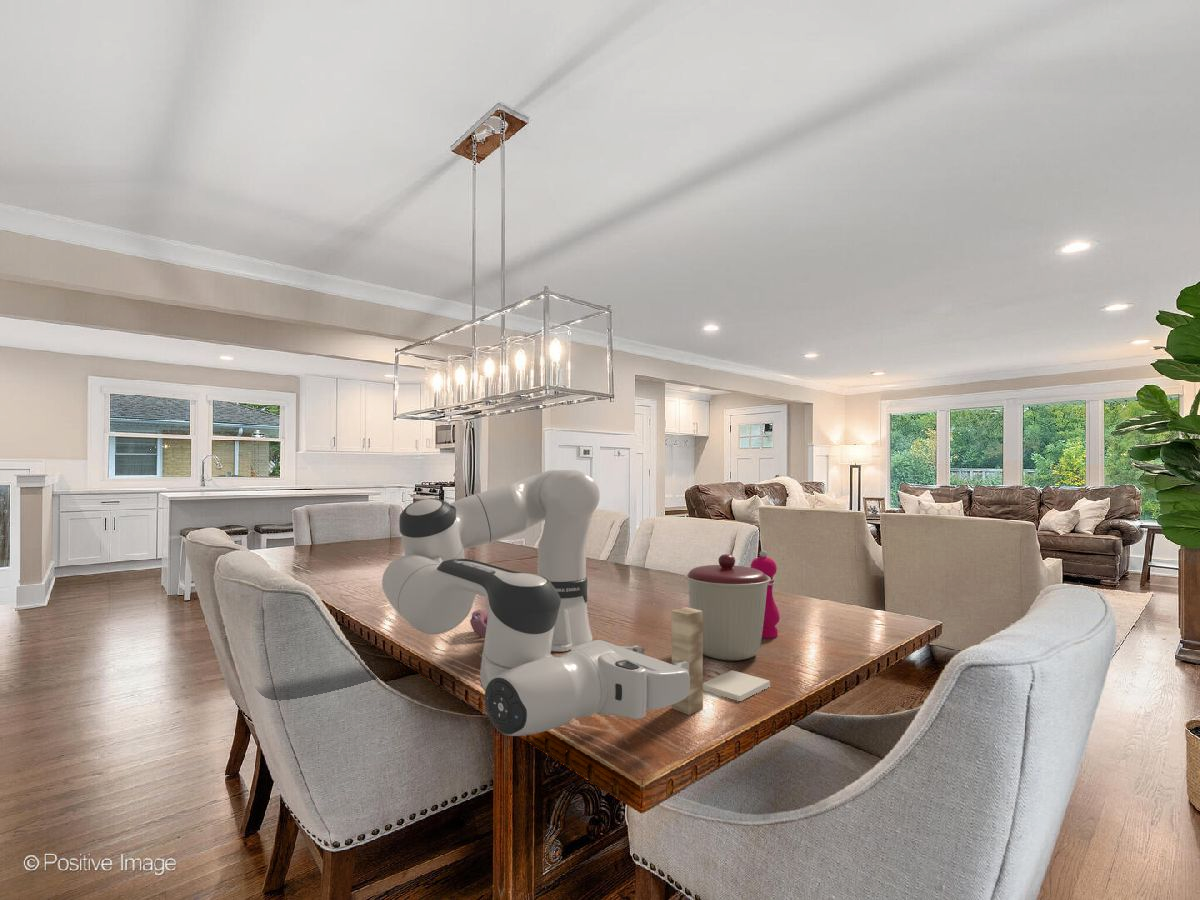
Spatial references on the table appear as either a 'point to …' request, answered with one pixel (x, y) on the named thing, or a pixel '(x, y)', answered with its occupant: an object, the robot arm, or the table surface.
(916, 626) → the table surface
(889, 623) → the table surface
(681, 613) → the block
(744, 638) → the canister
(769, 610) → the pepper mill
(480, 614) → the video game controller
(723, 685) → the tile
